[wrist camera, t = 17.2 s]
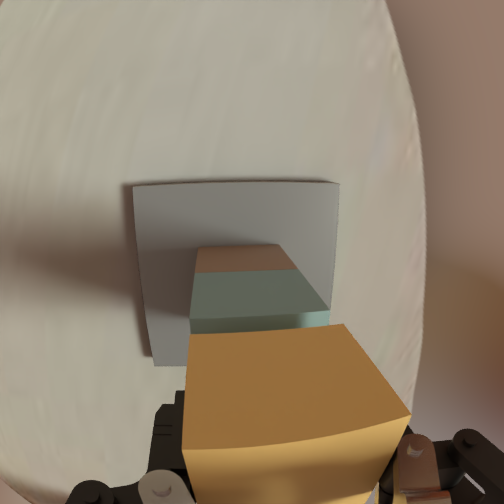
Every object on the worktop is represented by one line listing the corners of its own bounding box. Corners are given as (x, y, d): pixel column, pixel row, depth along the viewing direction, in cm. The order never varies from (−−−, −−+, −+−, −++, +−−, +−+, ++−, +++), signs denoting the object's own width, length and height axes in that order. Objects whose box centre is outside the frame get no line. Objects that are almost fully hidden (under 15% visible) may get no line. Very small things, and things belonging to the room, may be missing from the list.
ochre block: (324, 424, 13) (360, 509, 8) (203, 436, 12) (206, 533, 7) (343, 323, 11) (411, 414, 6) (189, 334, 10) (181, 449, 6)
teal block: (292, 353, 18) (315, 408, 14) (201, 359, 18) (201, 418, 13) (298, 268, 17) (330, 310, 12) (194, 272, 16) (189, 318, 11)
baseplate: (320, 348, 26) (345, 393, 20) (156, 357, 24) (145, 408, 18) (333, 182, 22) (373, 191, 16) (136, 185, 20) (108, 195, 14)
